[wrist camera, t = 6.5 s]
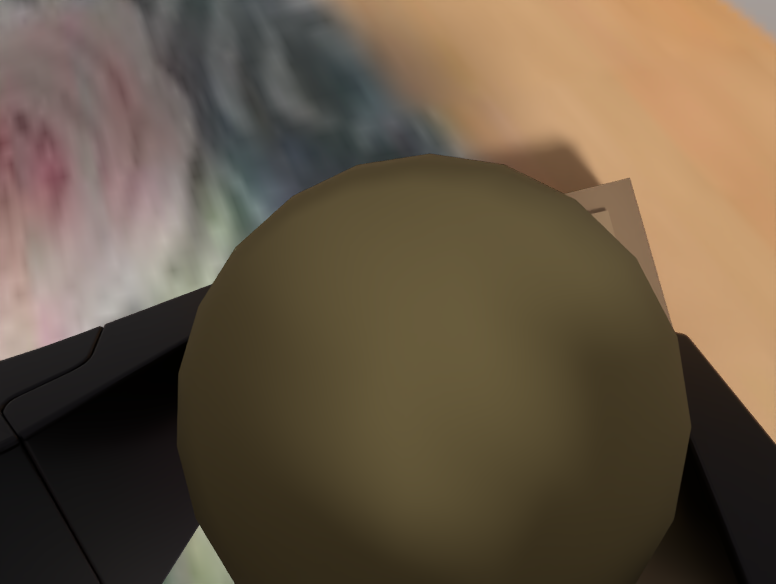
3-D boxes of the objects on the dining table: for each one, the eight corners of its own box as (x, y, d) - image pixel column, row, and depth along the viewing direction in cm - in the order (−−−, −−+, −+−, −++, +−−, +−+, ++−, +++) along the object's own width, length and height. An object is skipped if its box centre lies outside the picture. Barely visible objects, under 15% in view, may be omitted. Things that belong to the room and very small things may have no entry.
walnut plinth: (369, 578, 18) (343, 608, 15) (323, 275, 20) (293, 258, 18) (708, 538, 16) (742, 565, 13) (616, 206, 18) (630, 175, 16)
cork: (358, 316, 16) (43, 166, 6) (571, 261, 15) (657, -50, 5) (402, 537, 15) (92, 865, 4) (640, 496, 14) (988, 809, 3)
